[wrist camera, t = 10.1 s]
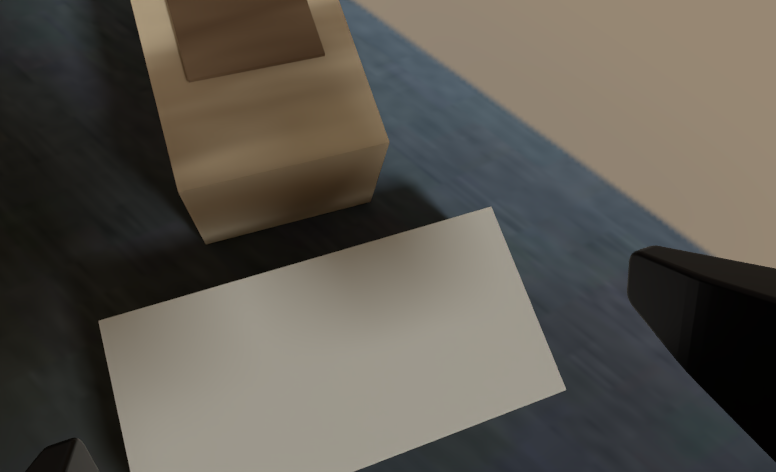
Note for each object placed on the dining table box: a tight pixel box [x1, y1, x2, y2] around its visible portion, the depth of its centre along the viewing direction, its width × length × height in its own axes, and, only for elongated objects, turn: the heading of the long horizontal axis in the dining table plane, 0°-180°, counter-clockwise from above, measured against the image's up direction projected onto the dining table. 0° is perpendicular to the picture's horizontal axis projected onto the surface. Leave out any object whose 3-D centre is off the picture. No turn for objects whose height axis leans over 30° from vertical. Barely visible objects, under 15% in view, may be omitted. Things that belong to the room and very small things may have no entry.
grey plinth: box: [98, 207, 566, 472], centre depth 18 cm, size 6×12×3 cm, turn 109°
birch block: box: [131, 0, 389, 244], centre depth 20 cm, size 5×6×10 cm
